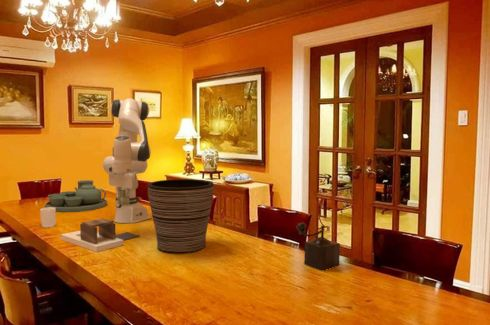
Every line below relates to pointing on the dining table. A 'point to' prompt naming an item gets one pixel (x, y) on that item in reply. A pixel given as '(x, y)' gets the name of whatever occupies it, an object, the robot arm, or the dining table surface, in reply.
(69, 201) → the tea set
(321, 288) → the dining table surface
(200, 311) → the dining table surface
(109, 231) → the cover
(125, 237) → the mat
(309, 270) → the dining table surface
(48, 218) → the white cup
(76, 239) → the puzzle board
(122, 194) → the block
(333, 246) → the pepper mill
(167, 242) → the planter pot
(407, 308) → the dining table surface
